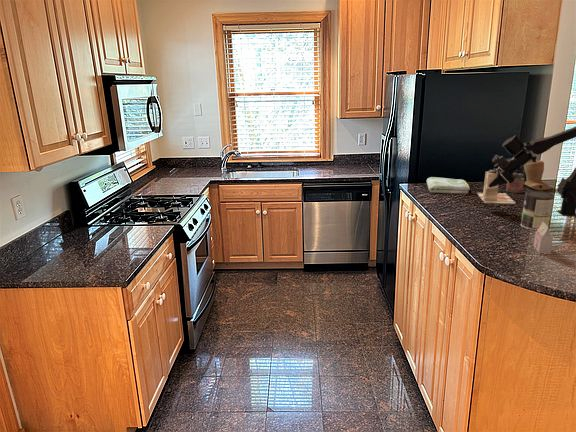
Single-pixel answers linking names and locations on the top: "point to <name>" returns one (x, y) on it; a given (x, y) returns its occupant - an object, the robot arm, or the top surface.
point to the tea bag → (543, 239)
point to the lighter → (516, 184)
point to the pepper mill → (490, 192)
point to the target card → (499, 199)
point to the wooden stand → (535, 175)
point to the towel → (447, 185)
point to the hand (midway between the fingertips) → (488, 185)
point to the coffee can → (536, 209)
